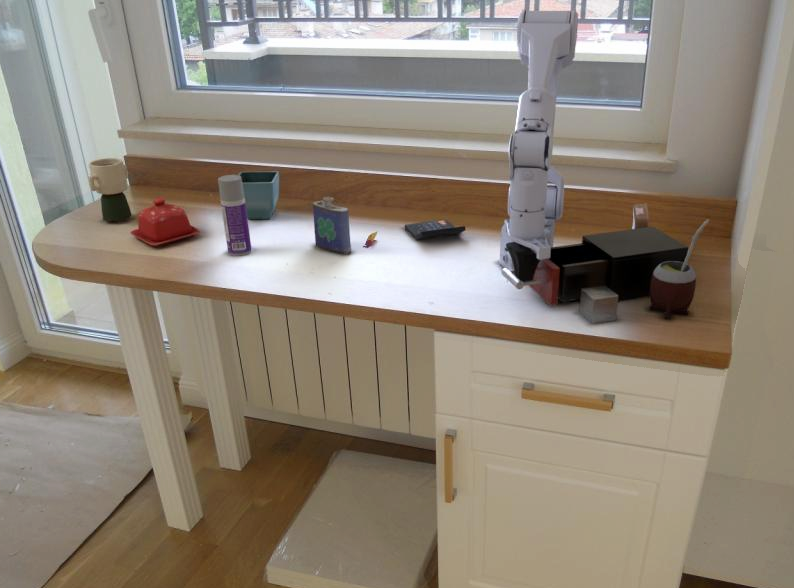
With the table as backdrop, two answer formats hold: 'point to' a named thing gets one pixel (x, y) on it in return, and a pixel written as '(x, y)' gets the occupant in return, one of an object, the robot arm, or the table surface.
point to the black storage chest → (636, 257)
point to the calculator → (433, 229)
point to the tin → (640, 216)
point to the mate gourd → (674, 284)
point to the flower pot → (260, 193)
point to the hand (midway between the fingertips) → (524, 284)
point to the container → (234, 215)
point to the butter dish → (163, 224)
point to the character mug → (110, 187)
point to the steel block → (598, 304)
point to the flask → (331, 227)
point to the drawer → (566, 273)
